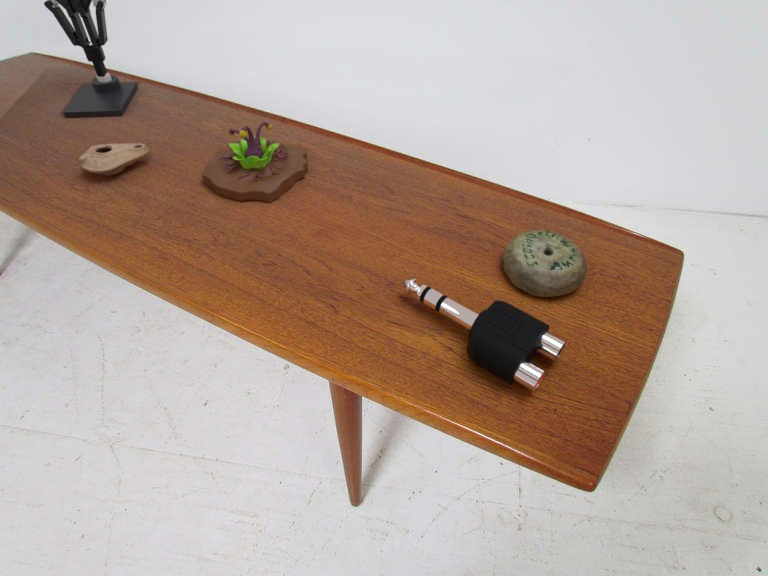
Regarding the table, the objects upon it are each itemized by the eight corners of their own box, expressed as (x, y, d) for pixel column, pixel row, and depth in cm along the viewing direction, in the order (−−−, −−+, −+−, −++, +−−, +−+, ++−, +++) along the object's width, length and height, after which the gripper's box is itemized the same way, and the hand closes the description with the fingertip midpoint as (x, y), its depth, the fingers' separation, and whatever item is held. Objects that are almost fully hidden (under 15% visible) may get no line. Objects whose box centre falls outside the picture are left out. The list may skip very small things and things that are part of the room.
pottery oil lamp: (157, 168, 103) (135, 149, 96) (105, 194, 103) (80, 177, 96) (145, 136, 106) (124, 116, 99) (95, 162, 106) (70, 143, 99)
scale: (65, 118, 118) (58, 104, 115) (87, 88, 129) (81, 75, 127) (122, 116, 119) (117, 102, 117) (138, 87, 131) (134, 73, 128)
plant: (187, 190, 98) (171, 138, 90) (236, 143, 111) (226, 94, 103) (280, 210, 94) (271, 157, 86) (320, 158, 107) (315, 108, 99)
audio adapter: (536, 380, 61) (379, 287, 72) (526, 403, 65) (379, 312, 76) (573, 328, 67) (424, 250, 78) (562, 352, 71) (421, 274, 82)
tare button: (97, 86, 125) (94, 77, 123) (101, 80, 127) (98, 72, 126) (110, 85, 125) (107, 77, 124) (114, 80, 127) (111, 72, 126)
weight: (570, 312, 77) (580, 290, 73) (488, 282, 81) (493, 259, 78) (590, 261, 85) (600, 239, 82) (515, 236, 90) (521, 213, 86)
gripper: (97, -41, 111) (133, 67, 128) (35, -40, 110) (79, 68, 127) (87, -32, 106) (125, 79, 122) (22, -32, 105) (70, 81, 121)
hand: (102, 74), depth 124 cm, fingers closed
